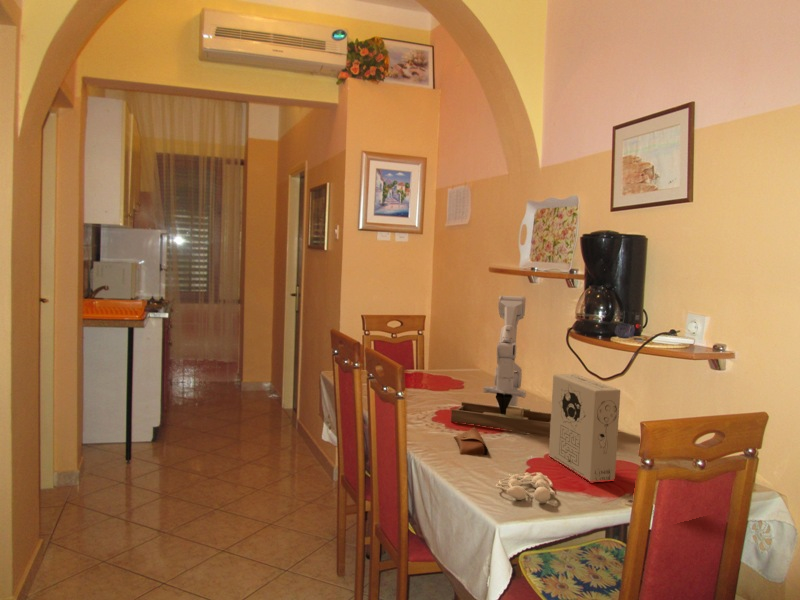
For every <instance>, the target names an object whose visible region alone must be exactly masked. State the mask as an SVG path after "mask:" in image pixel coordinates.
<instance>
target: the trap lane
mask: <svg viewBox="0 0 800 600" xmlns="http://www.w3.org/2000/svg"><path fill="white" fill-rule="evenodd" d="M508 407H509V406H508ZM450 415H451V417H450V423H452V422H457V423H456V424H459V423H466V424H474V425H480V426H486V427H493V428H500V429H506V430H505V431H507V430H512V431H511V432H513V431H517V432H516V433H520V432H522V434H527V433H529V434H528V435H534V436H543V437H549V438H550V427H551V413H549V412H541V411H535V410H534V411H533V410H531V408H526V407H525V408H524V411H523V417H519V416H512V415H504V414H501V412H500V407H497V406H495V405H488V404H482V403H481V404H480V403H472V402H466V401H465V402H464V401H462V402H461V405H460V406H458V407H457V408H456V409H451V414H450ZM486 427H485V428H486ZM493 428H492V429H493ZM500 429H499V430H500Z"/></svg>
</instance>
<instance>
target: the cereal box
mask: <svg viewBox="0 0 800 600" xmlns="http://www.w3.org/2000/svg"><path fill="white" fill-rule="evenodd" d="M620 401H621V390H620V389H618V388H616V387H613V386H609V385H608V384H607V385H606V384H605V383H602V382H599V381H596V380H593V379H591V378H587V377H584V376H582V375H579V374H577V373H560V374H559V373H556V374H555V373H554V374H553V376H552V393H551V410H550V411H551V413H550V414H551V427H550V436H549V445H548V446H549V449H548V457H549V456H550V457H552V458H554V459H555V460H557V461H559V462H560V463H562V464H564V465H565V466H567V467H569V468H570V469H572V470H574V471H575V472H577V473H578V474H580V475H581V476H583V477H585V478H586V479H588V480H589V481H600V480H612V479H615V478H616V467H617V465H616V464H617V451H618V449H617V447H618V437H619V436H618V433H619V422H620V421H619V417H620V403H621V402H620ZM550 457H549V458H550ZM615 480H616V479H615Z"/></svg>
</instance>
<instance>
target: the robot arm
mask: <svg viewBox="0 0 800 600" xmlns="http://www.w3.org/2000/svg"><path fill="white" fill-rule="evenodd" d="M526 301H527V300H526V297H525V296H524V295H523V296H519V295H518V296H515V295H502V294H500V295H499V297H498V305H497V307H498V314H499V317H500V318H501V319H503V320H504V326H502V327H501V329H500V333H499V341H498V344H497V345H496V364H497V366H496V367H495V372H494V386H484V387H483V393H485V394H488V393H489V394H496V395H495V399H496V402H497V404H496V405H497V407H500V412H501V414H504V415H506V409H507V408H508V406H517V407H518V406H519V405H518V402H519V397H521V398H524V399H525V397H526V395H527V392H526V390H521V389H520V388H521V386H522V377H523V376H522V367H521V366H519V364H517V362H516V357H517V334H518V333H517V331H518V324H519V321H520V320H522V319H525V318H524V317H525V313H526Z"/></svg>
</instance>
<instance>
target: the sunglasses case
mask: <svg viewBox="0 0 800 600" xmlns="http://www.w3.org/2000/svg"><path fill="white" fill-rule="evenodd" d="M453 439H454V440H455V442H456V444H457V446H458V448H459V454H460V455H463V456H467V455H469V456H472V455H473V456H487V455H488V453H489V450H488V447H487V445H486V442H485V441H484V439H483V437H482V435H481V433H480V432H479V430H477V428H476V426H474V427H472V428H471V429H469V430H468V431H466V432H463V433H461V434H457V435H455V436H453Z"/></svg>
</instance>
